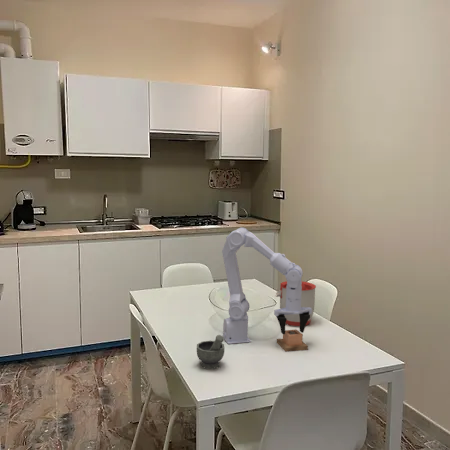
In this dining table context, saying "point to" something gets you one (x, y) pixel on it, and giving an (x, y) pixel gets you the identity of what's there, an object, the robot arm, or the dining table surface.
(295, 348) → the post stand
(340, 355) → the dining table surface
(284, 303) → the citrus juicer
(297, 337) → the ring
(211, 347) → the mortar and pestle
